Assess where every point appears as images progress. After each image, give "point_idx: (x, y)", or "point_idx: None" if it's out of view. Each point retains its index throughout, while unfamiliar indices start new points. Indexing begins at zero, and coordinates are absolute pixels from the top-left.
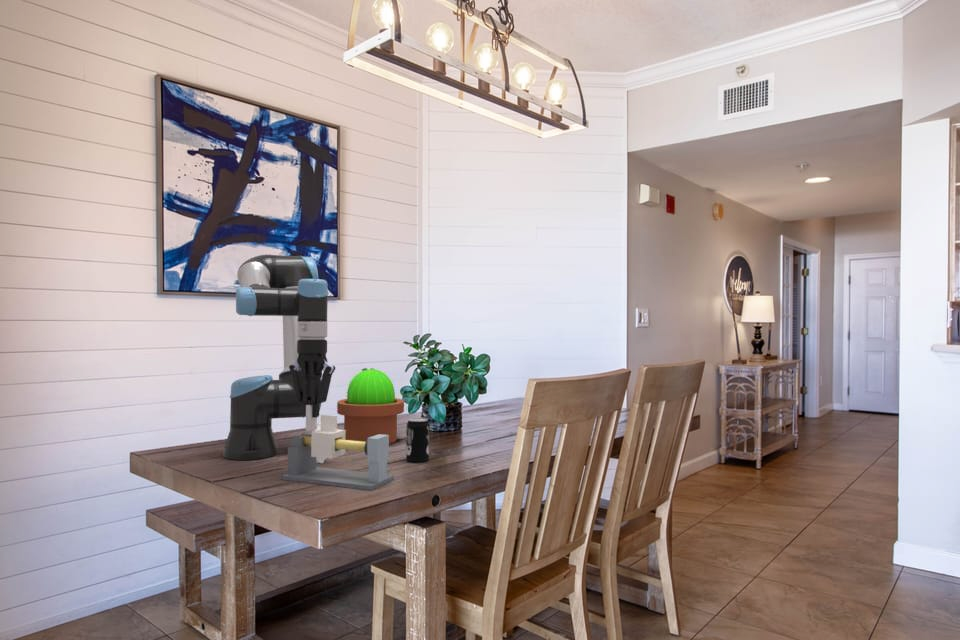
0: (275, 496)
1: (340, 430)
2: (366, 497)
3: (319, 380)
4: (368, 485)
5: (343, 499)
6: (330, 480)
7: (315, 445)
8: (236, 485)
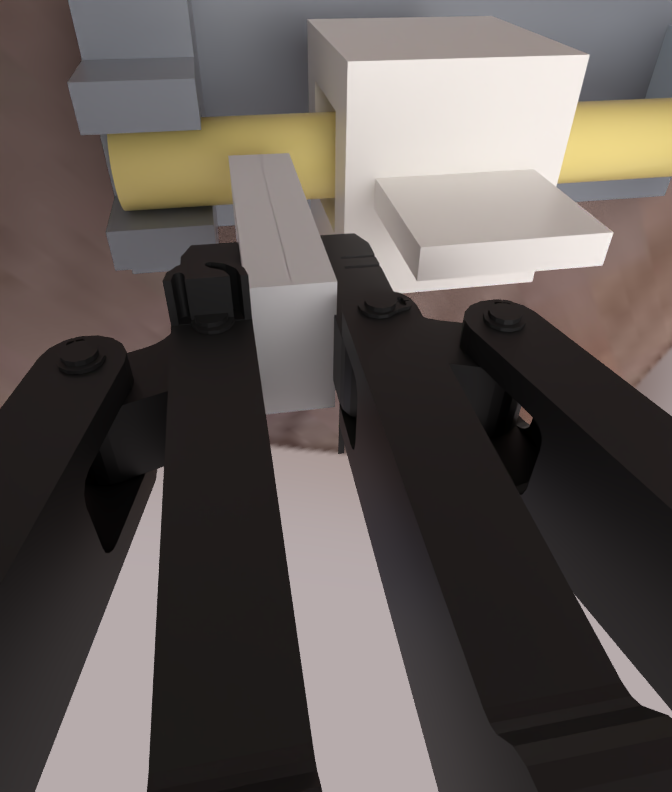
0: None
1: (549, 110)
2: (647, 275)
3: (581, 670)
4: (647, 190)
5: (570, 330)
6: None
7: None
8: None
